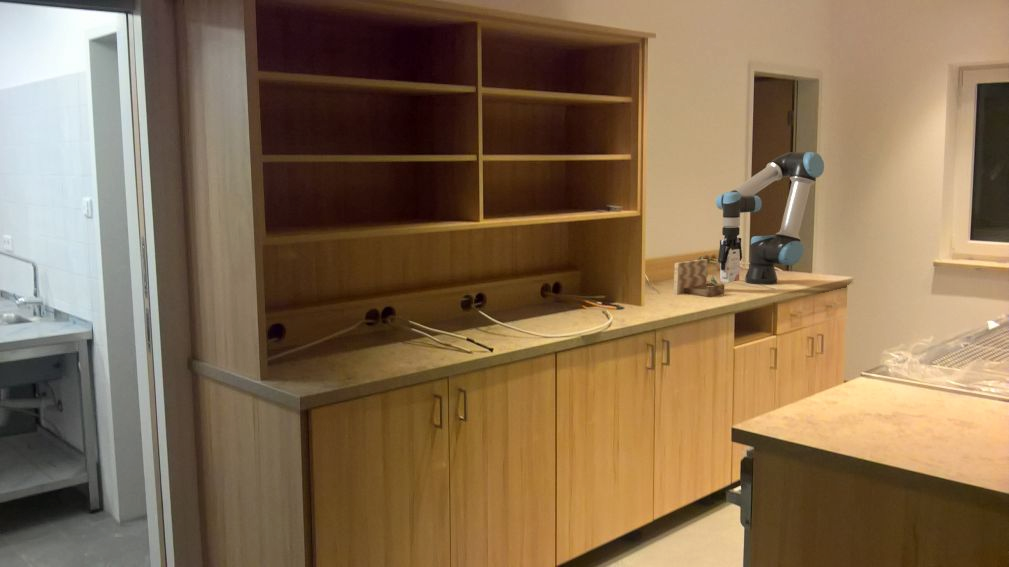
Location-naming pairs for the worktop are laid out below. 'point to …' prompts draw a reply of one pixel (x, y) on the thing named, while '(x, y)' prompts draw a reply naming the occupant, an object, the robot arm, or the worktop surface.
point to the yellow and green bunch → (711, 278)
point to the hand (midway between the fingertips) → (729, 275)
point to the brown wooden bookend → (694, 279)
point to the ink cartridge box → (732, 267)
